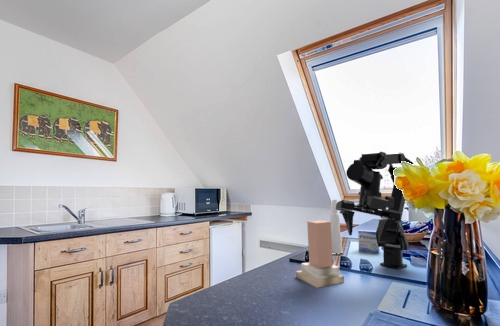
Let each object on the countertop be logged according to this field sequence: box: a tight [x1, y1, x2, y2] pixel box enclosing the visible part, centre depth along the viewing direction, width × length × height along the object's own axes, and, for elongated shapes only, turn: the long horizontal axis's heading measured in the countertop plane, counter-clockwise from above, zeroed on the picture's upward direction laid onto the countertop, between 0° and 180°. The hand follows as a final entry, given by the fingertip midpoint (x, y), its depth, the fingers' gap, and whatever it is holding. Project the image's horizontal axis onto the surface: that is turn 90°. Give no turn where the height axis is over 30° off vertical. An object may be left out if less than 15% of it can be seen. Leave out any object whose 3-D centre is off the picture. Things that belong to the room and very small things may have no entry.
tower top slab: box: [300, 261, 341, 280], centre depth 87 cm, size 8×8×2 cm
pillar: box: [306, 219, 334, 268], centre depth 87 cm, size 5×5×13 cm
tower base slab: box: [295, 269, 345, 289], centre depth 87 cm, size 10×10×2 cm
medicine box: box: [357, 229, 380, 254], centre depth 122 cm, size 8×4×9 cm, turn 62°
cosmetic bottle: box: [329, 199, 344, 254], centre depth 120 cm, size 6×6×22 cm
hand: (365, 238), depth 89 cm, fingers open, 9 cm apart
